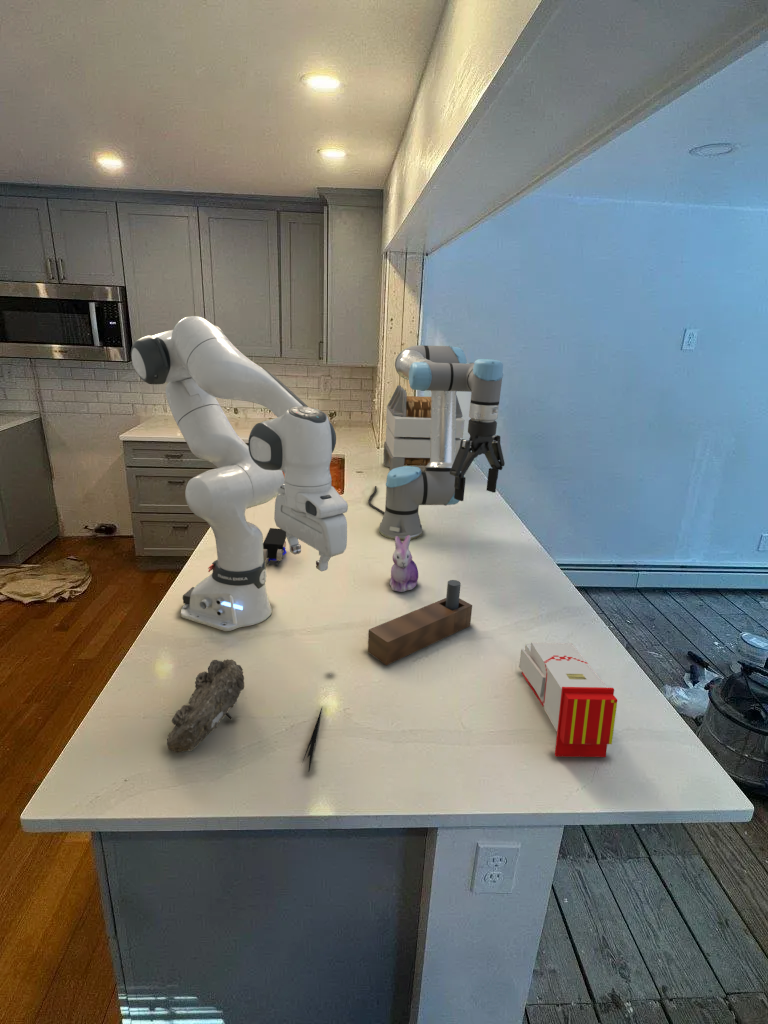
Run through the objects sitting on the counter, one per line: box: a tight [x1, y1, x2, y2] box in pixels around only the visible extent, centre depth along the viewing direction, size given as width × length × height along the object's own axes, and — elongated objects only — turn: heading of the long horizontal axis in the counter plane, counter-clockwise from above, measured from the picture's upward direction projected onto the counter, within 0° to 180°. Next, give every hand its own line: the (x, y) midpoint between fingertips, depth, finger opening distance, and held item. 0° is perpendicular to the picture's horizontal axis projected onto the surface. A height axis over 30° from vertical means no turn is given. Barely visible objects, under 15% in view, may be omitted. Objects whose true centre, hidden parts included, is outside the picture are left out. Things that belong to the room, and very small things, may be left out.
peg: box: [445, 579, 462, 611], centre depth 141 cm, size 3×3×12 cm
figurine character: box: [263, 527, 287, 566], centre depth 175 cm, size 7×8×15 cm
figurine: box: [389, 535, 419, 593], centre depth 160 cm, size 9×10×15 cm
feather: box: [301, 673, 332, 771], centre depth 108 cm, size 2×28×2 cm
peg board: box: [367, 597, 473, 666], centre depth 136 cm, size 28×7×6 cm, turn 130°
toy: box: [518, 642, 618, 758], centre depth 113 cm, size 12×13×30 cm
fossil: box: [166, 658, 245, 754], centre depth 106 cm, size 22×10×15 cm
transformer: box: [383, 384, 465, 471], centre depth 268 cm, size 34×33×41 cm
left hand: (308, 561), depth 112 cm, fingers open, 8 cm apart
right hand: (475, 495), depth 158 cm, fingers open, 13 cm apart
